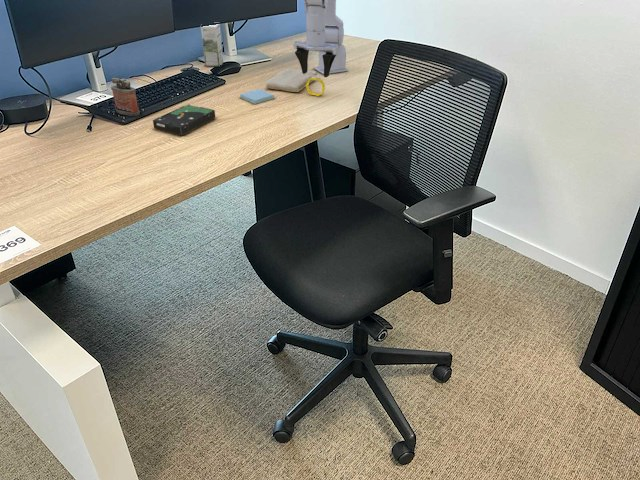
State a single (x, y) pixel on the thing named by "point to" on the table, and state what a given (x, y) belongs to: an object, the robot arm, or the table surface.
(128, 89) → the lighter
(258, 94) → the sticky note pad
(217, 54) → the syrup box
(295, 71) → the washcloth
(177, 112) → the disk drive
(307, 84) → the yellow ring
